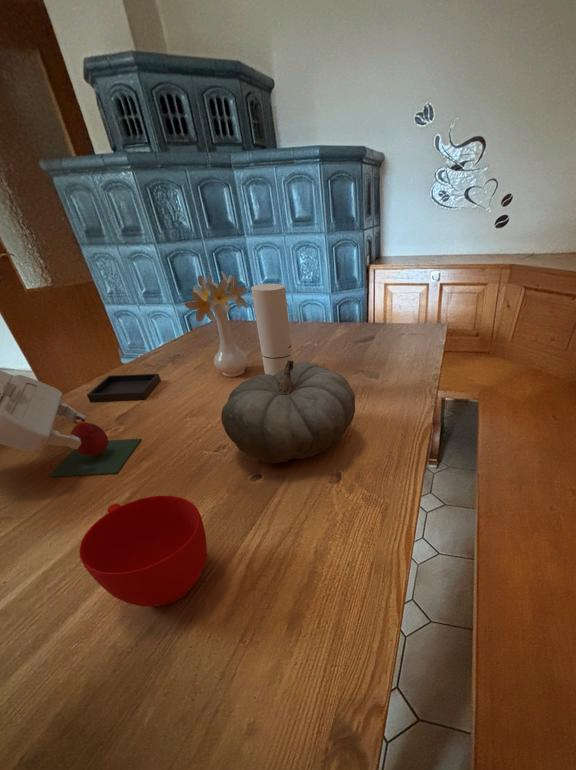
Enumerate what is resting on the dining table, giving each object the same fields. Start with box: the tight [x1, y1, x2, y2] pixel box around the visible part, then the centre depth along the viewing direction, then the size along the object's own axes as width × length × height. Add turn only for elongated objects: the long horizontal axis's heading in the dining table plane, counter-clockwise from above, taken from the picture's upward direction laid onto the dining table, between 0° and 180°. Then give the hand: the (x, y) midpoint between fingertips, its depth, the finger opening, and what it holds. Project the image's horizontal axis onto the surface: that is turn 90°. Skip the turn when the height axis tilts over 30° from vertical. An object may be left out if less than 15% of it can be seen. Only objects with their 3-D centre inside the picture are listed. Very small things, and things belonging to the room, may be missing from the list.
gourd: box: [220, 360, 356, 464], centre depth 73 cm, size 25×25×17 cm
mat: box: [48, 438, 142, 478], centre depth 75 cm, size 12×12×1 cm
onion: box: [69, 420, 109, 457], centre depth 72 cm, size 6×6×8 cm
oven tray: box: [86, 373, 162, 403], centre depth 100 cm, size 13×12×2 cm
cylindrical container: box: [250, 283, 295, 376], centre depth 89 cm, size 7×7×25 cm
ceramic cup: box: [78, 495, 208, 607], centre depth 49 cm, size 13×17×10 cm
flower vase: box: [184, 270, 249, 378], centre depth 101 cm, size 13×18×25 cm
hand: (82, 432), depth 72 cm, fingers open, 8 cm apart
